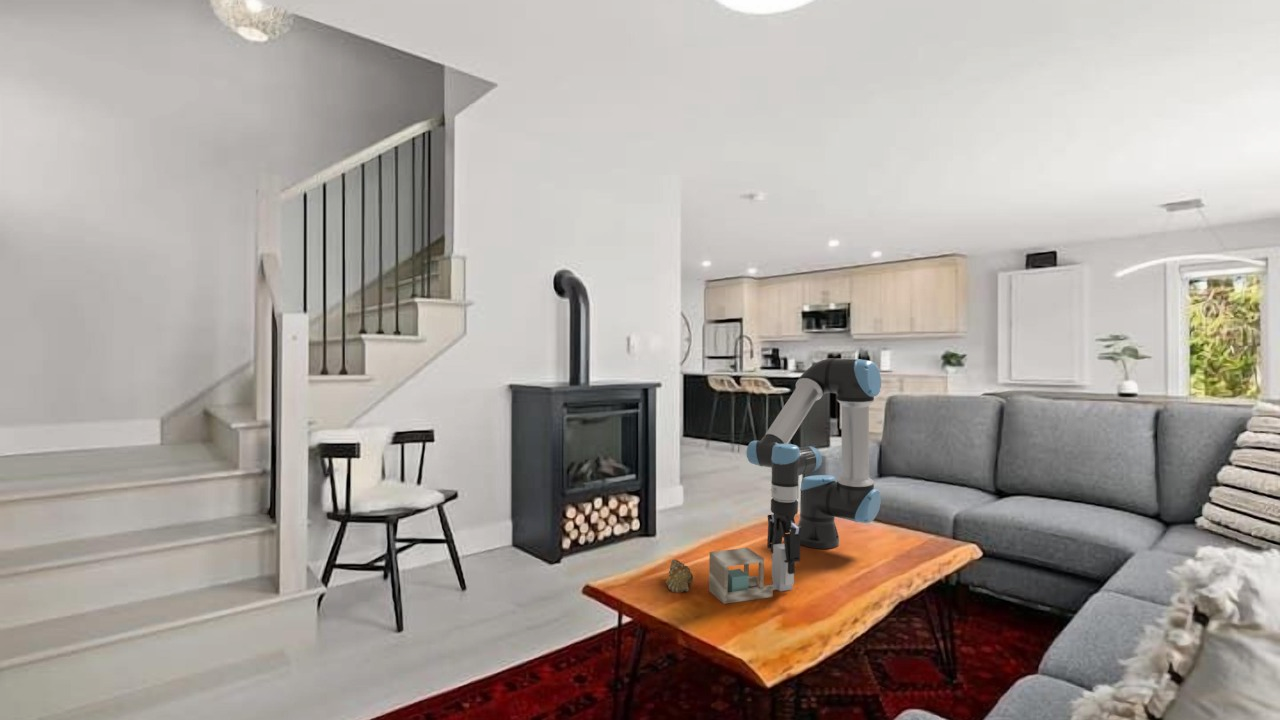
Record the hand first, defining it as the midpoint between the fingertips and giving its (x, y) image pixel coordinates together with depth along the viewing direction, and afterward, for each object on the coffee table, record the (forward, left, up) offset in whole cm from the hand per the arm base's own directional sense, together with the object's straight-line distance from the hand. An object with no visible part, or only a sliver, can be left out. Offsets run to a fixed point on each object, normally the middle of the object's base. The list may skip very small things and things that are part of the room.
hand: (782, 579), depth 175 cm
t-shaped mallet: (+8, 0, -2) cm, 8 cm away
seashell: (+27, -11, -3) cm, 30 cm away
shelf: (+14, 0, -2) cm, 14 cm away
